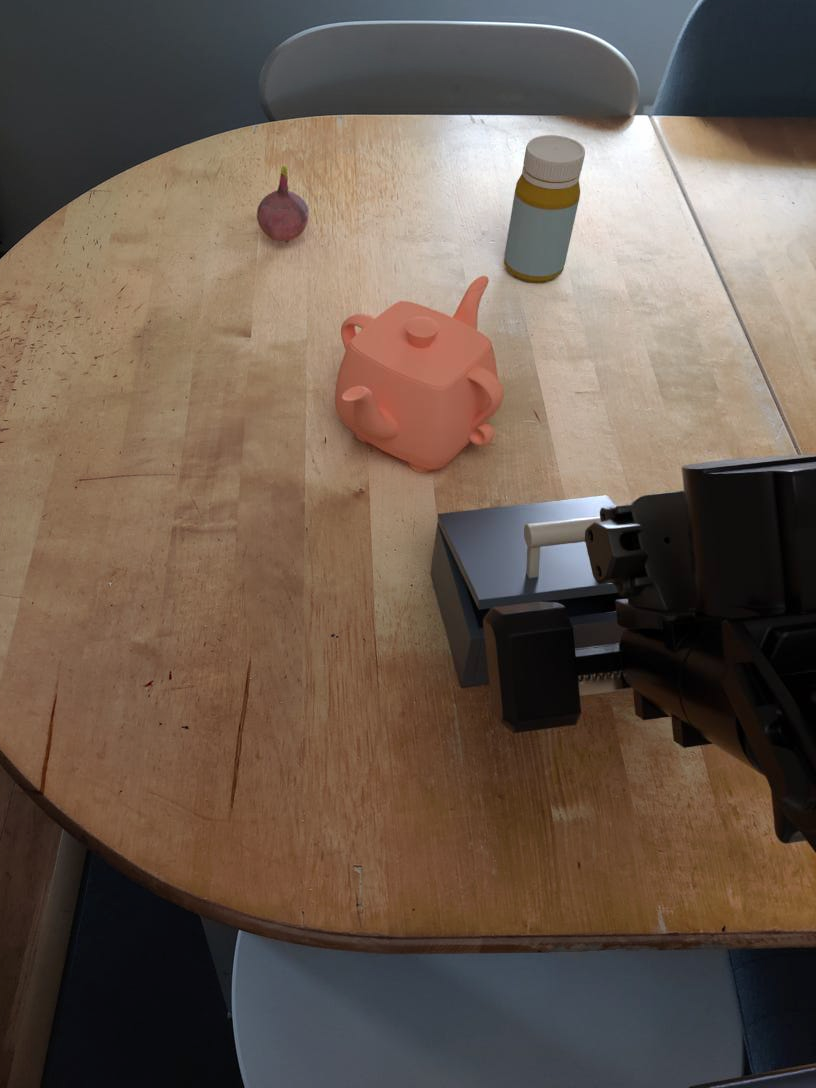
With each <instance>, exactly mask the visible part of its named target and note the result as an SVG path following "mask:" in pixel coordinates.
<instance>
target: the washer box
mask: <svg viewBox="0 0 816 1088" xmlns="http://www.w3.org/2000/svg"><path fill="white" fill-rule="evenodd" d="M430 578H431V581H432V585H433V589H434V593H435V596H436V600H437V604H438V608H439V610H440V615H441V617H442V618H441V619H442V623H443V625H444V629H445V630H444V631H445V633H446V637H447V641H448V645H449V648H450V652H451V657H452V660H453V663H454V667H455V670H456V674H457V678H458V682H459V686H460V688H461V689H465V688H472V687H479V686H487V685H490V684H489V674H488V664H487V654H486V644H485V634H484V624H483V619H484V617H485V616H486V615H487V613H488V612H489V611H490V610H491V608H488V609H480V610H479V609H478V607H477V605H476V603H475V601H474V598H473V596H472V594H471V592H470V590H469V588H468V586H467V583H466V581H465V579H464V577H463V575H462V573H461V571H460V569H459V566H458V564H457V562H456V560H455V558H454V556H453V554H452V551H451V549H450V547H449V545H448V543H447V541H446V539H445V537H444V534H443V532H442V530H441V528H440V526H439V524H438V521H437V522H436V530H435V537H434V544H433V552H432V559H431V567H430ZM620 599H628V596H626V597H621V596H620V595H619V593H611V594H602V595H594V596H586V597H578V598H570V599H562V600H555V601H556V603H559V604H561V605H563V606H565V608H566V611H567V613H568V616H569V619H570V621H571V624H572V626H573V633H574V644H575V649H578V648H586V647H593V646H601V645H609V644H617V643H620V640H621V637H622V634H623V631H624V629H625V628H623V627H621V626H619V625H618V623H617V616H616V606H615V600H620Z"/></svg>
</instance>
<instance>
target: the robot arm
mask: <svg viewBox="0 0 816 1088" xmlns="http://www.w3.org/2000/svg"><path fill="white" fill-rule="evenodd" d="M681 476H682V485H683V490H677V491H669V492H660V493H651V494H644V495H642V496H640V497H638V498H637V499H635V500H634V501H632V502H631V503H629V504H620V505H616V506H611V507H603V508H601V510H600V519H601V522H594V523H593V524H591V525H590V526H589V527H588V528H587V529H586V531H585V543H586V547H587V552H588V556H589V560H590V565H591V569H592V573H593V577H594V578H595V580H596V581H597V582H598V583H599V584H603V583H613V584H614V585H615V586H616V587H617V591H618V593H619V595H620V596H621V597H626V596H628V599H620V600H615V606H616V616H617V623H618V625H619V626H621V627H623V628H625V629H624V631H623V634H622V637H621V640H620V643H617V644H609V645H601V646H593V647H586V648H578V649H575V644H574V633H573V626H572V624H571V621H570V619H569V616H568V613H567V611H566V608H565V606H563V605H561V604H559V603H556V601H555V600H549V601H540V602H532V603H524V604H516V605H509V606H501V607H492V608H491V610H490V611H489V612H488V613H487V615H486V616H485V617H484V619H483V624H484V634H485V644H486V654H487V664H488V674H489V684H488V685H489V693H490V703H491V715H493V716H494V717H495V718H496V719H497V721H499V723H501V724H502V725H503V726H504V727H505V728H506V729H508V730H509V731H510V732H511V733H512V734H519V733H528V732H535V731H543V730H548V729H556V728H563V727H571V726H577V725H578V722H579V720H580V717H581V715H582V707H581V697H582V696H583V697H585V696H589V695H591V696H592V695H597V694H606V693H611V692H618V691H620V692H621V691H628V690H632V695H633V696H632V697H633V707H634V714H635V716H637V717H638V718H640V719H641V720H643V721H649V720H657V719H664V718H670V719H671V728H672V729H671V730H672V740H673V742H675V743H676V744H678V745H679V746H681V747H682V748H683V749H687V748H692V747H694V748H695V747H700V746H707V745H715V746H716V747H718V748H719V749H720V750H722V751H724V752H725V753H727V754H729V755H730V756H732V757H734V758H735V759H736V760H738V761H740V762H741V763H743V764H745V765H746V766H748V767H749V768H751V769H753V771H755V772H757V773H759V774H760V775H762V776H763V777H765V779H766V781H767V783H768V785H769V788H770V795H771V805H772V815H773V826H774V827H773V828H774V833H775V836H776V838H777V840H779V842H780V843H782V844H785V845H788V844H795V843H800V842H801V843H802V842H807V843H808V845H809V846H810V847H811V849H812V850H813V852H814V853H815V854H816V454H788V455H787V454H786V455H771V456H769V455H768V456H755V457H754V456H753V457H743V458H732V459H721V460H712V461H703V462H697V463H692V464H691V463H690V464H687V465H686V464H685V465H682V466H681ZM579 677H580V678H579ZM688 1088H816V1063H809V1064H804V1065H798V1066H792V1067H787V1068H782V1069H776V1070H771V1071H766V1072H760V1073H755V1074H754V1073H753V1074H748V1075H743V1076H739V1077H733V1078H728V1079H723V1080H722V1079H721V1080H717V1081H711V1082H706V1083H700V1084H695V1085H690V1086H688Z"/></svg>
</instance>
